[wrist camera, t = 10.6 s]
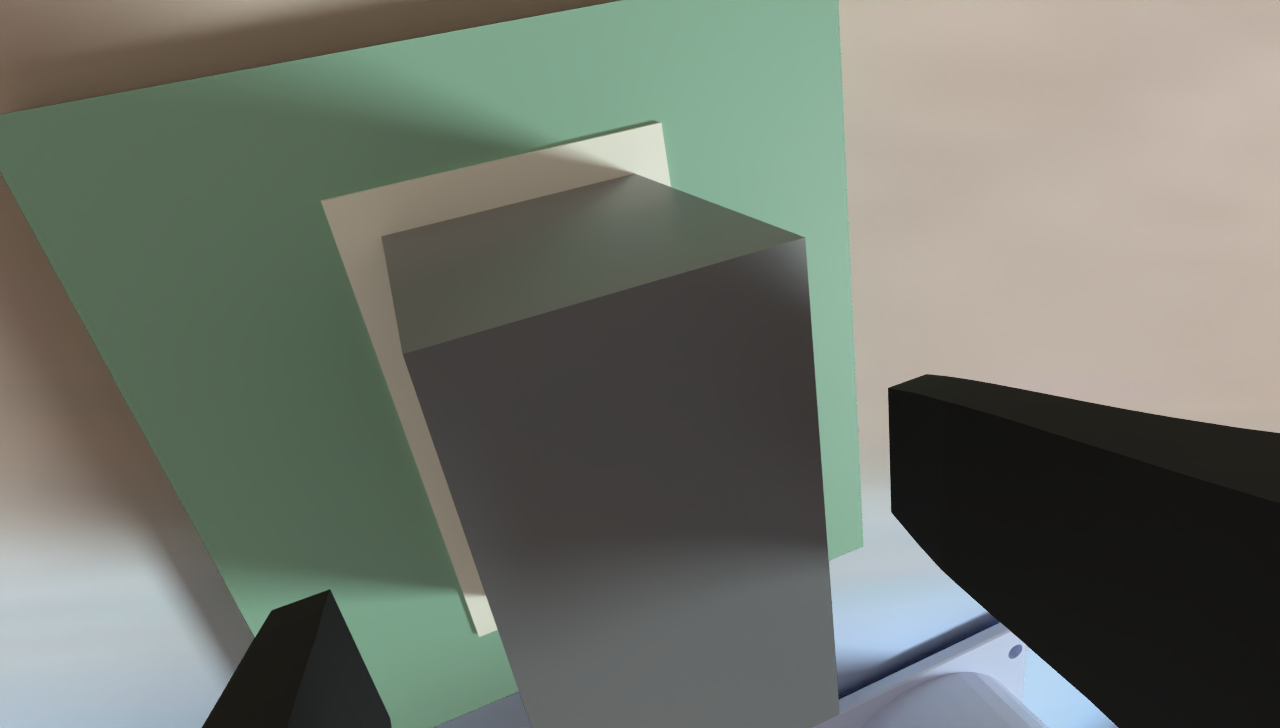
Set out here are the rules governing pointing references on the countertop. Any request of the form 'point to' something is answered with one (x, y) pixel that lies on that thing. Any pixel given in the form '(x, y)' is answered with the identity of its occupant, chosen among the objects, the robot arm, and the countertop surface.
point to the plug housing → (631, 451)
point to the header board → (359, 283)
